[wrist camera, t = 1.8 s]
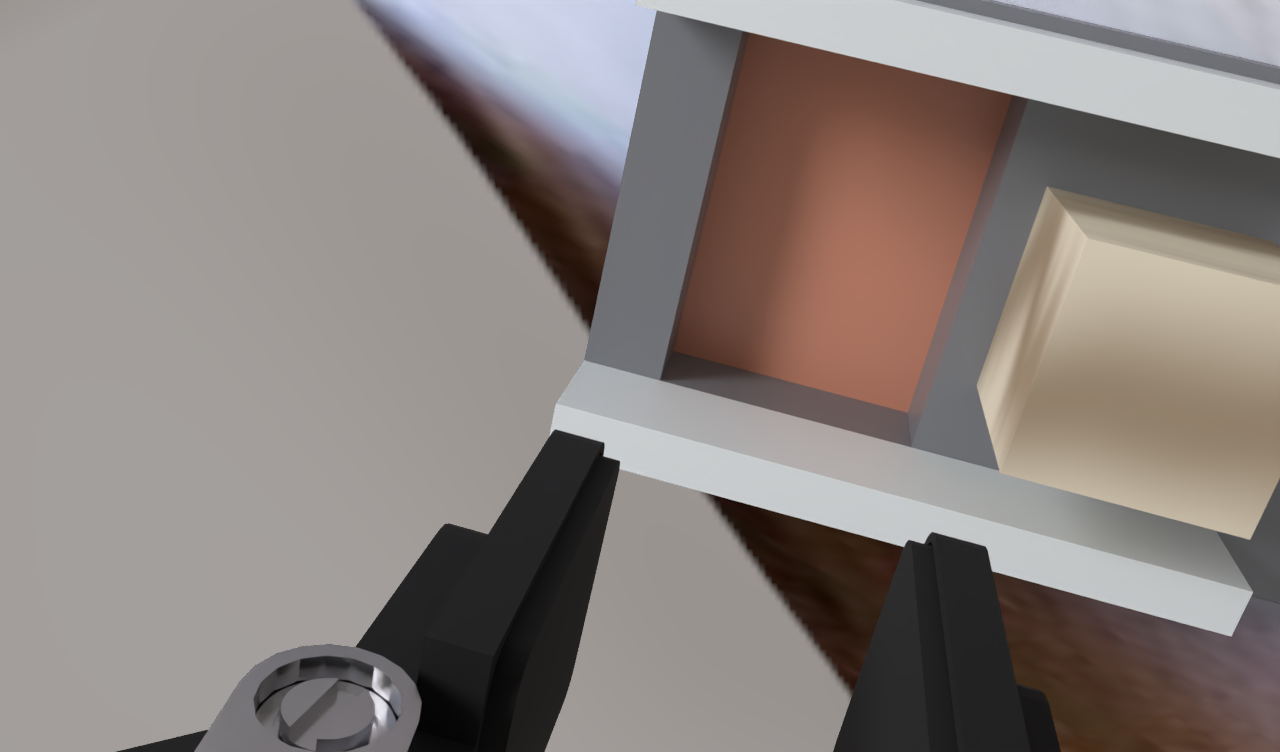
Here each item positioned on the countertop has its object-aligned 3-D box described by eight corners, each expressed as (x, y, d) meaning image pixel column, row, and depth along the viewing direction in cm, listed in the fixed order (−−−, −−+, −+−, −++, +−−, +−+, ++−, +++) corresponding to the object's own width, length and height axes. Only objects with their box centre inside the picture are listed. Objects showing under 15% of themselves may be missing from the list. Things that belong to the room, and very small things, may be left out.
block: (1046, 185, 26) (1088, 238, 21) (1270, 240, 25) (1362, 306, 21) (976, 385, 28) (1000, 473, 23) (1184, 439, 27) (1250, 540, 23)
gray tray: (593, 379, 32) (544, 460, 27) (688, -70, 28) (651, -73, 23) (1393, 593, 30) (1500, 722, 25) (1635, 148, 26) (1826, 198, 21)
